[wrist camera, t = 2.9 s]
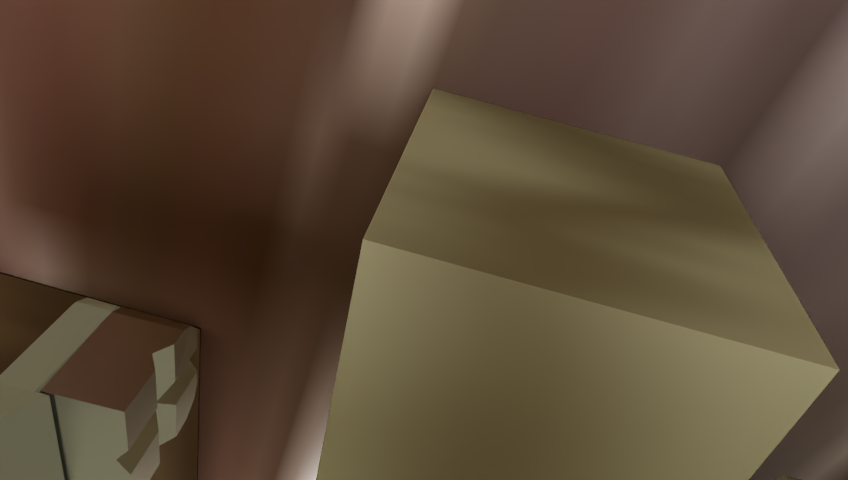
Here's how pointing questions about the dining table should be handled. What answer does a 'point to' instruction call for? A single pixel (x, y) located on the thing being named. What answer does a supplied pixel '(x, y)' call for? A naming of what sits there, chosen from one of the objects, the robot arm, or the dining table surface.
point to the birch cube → (563, 314)
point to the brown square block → (35, 312)
